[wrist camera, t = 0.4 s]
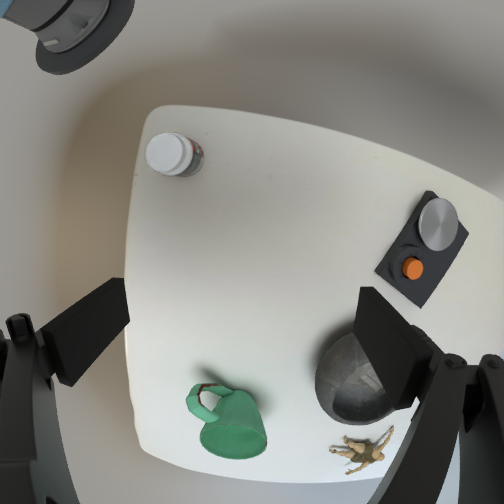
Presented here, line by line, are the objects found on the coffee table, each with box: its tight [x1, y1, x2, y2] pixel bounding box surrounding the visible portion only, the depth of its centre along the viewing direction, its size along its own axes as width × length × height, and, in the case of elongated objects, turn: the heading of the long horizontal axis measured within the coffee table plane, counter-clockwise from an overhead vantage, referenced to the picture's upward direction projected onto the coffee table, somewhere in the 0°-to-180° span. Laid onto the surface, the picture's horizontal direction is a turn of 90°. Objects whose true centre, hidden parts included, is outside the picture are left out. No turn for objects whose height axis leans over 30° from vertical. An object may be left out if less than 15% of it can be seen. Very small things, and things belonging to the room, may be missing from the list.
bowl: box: [315, 332, 395, 425], centre depth 34 cm, size 15×15×10 cm
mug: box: [186, 383, 267, 459], centre depth 36 cm, size 15×10×10 cm
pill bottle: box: [145, 133, 204, 177], centre depth 29 cm, size 5×5×8 cm
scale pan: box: [419, 198, 458, 251], centre depth 30 cm, size 7×7×1 cm
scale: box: [375, 191, 469, 309], centre depth 33 cm, size 14×10×4 cm
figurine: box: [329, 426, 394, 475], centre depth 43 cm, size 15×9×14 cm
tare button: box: [402, 257, 423, 280], centre depth 31 cm, size 3×3×2 cm
